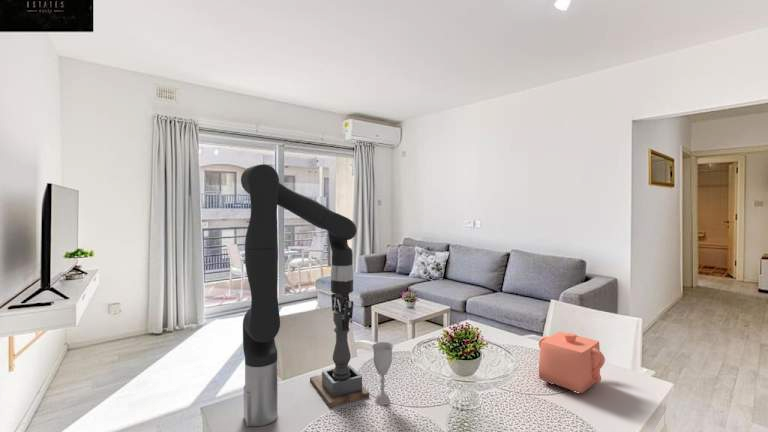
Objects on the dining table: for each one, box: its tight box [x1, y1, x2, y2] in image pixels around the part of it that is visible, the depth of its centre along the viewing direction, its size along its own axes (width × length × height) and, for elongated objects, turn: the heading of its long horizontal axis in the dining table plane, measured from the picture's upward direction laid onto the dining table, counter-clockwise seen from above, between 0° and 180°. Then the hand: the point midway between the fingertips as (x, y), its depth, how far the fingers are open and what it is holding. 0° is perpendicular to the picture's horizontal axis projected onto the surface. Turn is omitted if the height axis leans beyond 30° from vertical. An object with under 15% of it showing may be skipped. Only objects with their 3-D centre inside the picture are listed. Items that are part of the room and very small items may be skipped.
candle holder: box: [332, 309, 352, 381], centre depth 128 cm, size 6×6×25 cm
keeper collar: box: [321, 364, 363, 399], centre depth 128 cm, size 10×10×5 cm
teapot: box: [538, 331, 606, 394], centre depth 139 cm, size 25×23×18 cm
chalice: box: [371, 341, 394, 406], centre depth 123 cm, size 7×7×18 cm
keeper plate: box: [309, 374, 370, 408], centre depth 131 cm, size 14×20×2 cm
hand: (341, 327), depth 128 cm, fingers closed on candle holder, 5 cm apart
